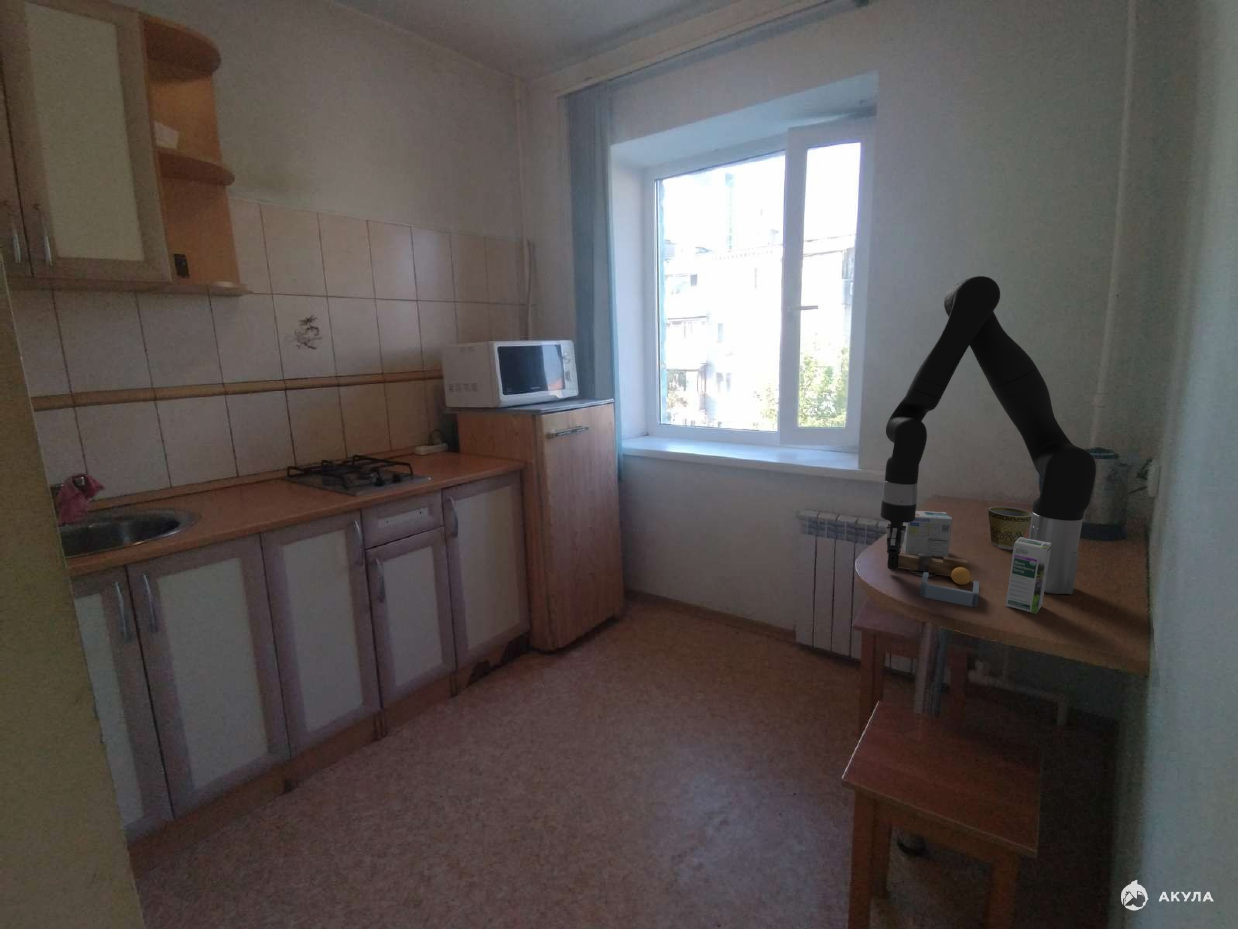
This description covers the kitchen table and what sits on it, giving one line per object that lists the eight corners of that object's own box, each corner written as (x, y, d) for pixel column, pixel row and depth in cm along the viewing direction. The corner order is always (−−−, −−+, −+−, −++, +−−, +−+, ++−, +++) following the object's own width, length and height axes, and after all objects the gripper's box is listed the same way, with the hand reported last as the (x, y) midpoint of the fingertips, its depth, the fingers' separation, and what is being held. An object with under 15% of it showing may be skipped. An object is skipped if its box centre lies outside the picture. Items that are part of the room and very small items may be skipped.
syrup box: (1004, 606, 124) (1013, 542, 121) (1011, 598, 128) (1020, 535, 125) (1036, 615, 120) (1046, 548, 117) (1042, 606, 124) (1052, 541, 121)
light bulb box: (942, 549, 159) (947, 511, 156) (949, 558, 152) (953, 518, 150) (899, 546, 161) (903, 508, 159) (904, 554, 155) (908, 515, 153)
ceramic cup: (1025, 555, 154) (1031, 518, 152) (982, 547, 160) (986, 512, 158) (1028, 541, 164) (1033, 507, 162) (987, 535, 170) (991, 502, 168)
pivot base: (937, 570, 144) (937, 569, 144) (936, 578, 139) (936, 577, 139) (910, 565, 147) (910, 564, 147) (908, 573, 142) (908, 572, 142)
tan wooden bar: (965, 575, 139) (967, 559, 139) (965, 579, 137) (967, 563, 136) (888, 561, 148) (890, 546, 147) (887, 565, 146) (888, 550, 145)
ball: (970, 582, 137) (972, 566, 136) (969, 588, 133) (971, 572, 132) (950, 579, 139) (952, 563, 138) (949, 585, 135) (951, 569, 134)
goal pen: (977, 594, 130) (979, 581, 130) (977, 607, 124) (978, 594, 123) (922, 584, 136) (923, 571, 135) (919, 596, 129) (920, 583, 129)
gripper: (914, 508, 131) (906, 580, 134) (919, 495, 142) (912, 562, 145) (878, 504, 135) (872, 574, 138) (885, 491, 146) (879, 557, 149)
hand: (892, 568), depth 142 cm, fingers closed
